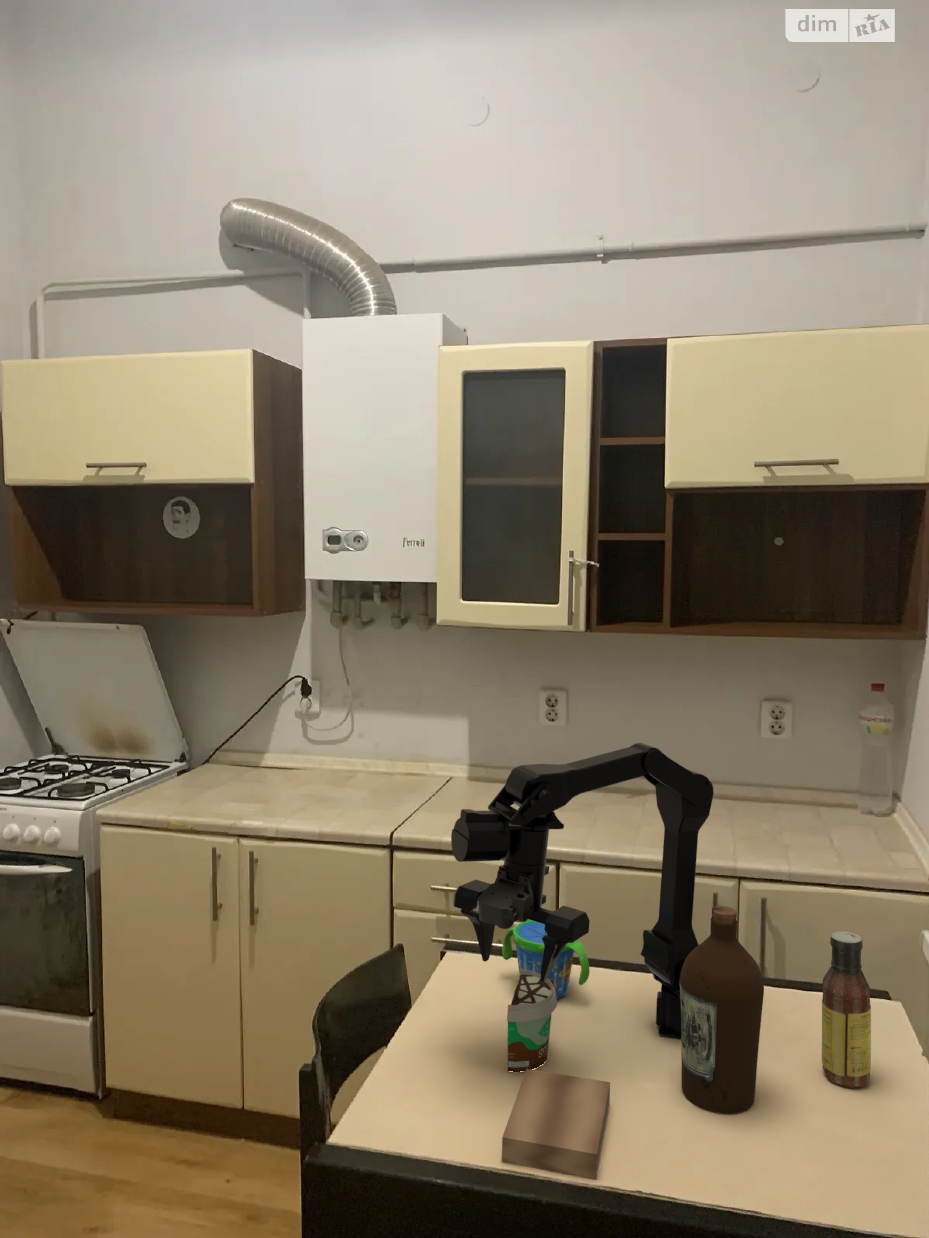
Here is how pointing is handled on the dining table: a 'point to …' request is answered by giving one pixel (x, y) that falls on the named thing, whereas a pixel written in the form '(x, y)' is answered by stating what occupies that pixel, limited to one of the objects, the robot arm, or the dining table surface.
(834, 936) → the sauce bottle
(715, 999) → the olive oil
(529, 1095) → the base board
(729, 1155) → the dining table surface
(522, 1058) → the food container
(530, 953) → the snack cup
